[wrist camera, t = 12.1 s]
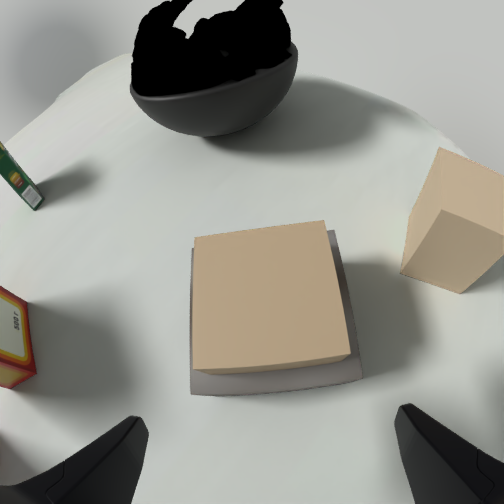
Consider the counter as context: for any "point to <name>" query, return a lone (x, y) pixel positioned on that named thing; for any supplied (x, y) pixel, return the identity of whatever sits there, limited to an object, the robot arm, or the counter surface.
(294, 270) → the box lid
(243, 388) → the block
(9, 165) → the coffee box
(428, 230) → the box
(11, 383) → the baking soda box
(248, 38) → the coal bowl
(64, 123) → the counter surface
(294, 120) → the counter surface
